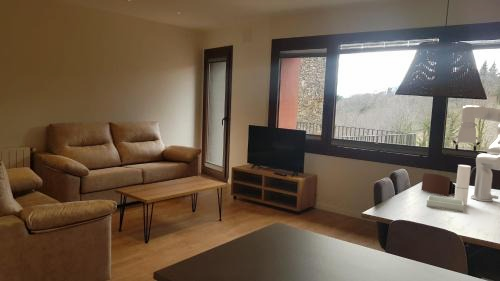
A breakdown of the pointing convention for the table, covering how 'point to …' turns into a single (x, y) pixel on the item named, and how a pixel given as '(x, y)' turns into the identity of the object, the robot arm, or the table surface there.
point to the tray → (445, 203)
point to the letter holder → (438, 184)
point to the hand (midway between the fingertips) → (465, 151)
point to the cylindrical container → (462, 183)
